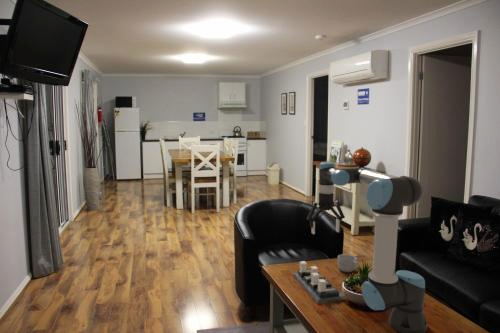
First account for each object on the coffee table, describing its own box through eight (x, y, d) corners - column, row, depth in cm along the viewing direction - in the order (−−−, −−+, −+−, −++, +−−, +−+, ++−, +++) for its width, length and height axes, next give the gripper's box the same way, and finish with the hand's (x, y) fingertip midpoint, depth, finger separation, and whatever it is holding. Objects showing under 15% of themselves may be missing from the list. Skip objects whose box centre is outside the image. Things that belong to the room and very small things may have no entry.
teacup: (333, 267, 233) (334, 254, 232) (350, 265, 236) (350, 252, 235) (346, 277, 220) (346, 263, 219) (363, 274, 223) (364, 261, 222)
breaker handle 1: (306, 272, 216) (306, 263, 215) (301, 272, 215) (301, 263, 214) (304, 269, 219) (304, 261, 218) (299, 270, 218) (299, 261, 218)
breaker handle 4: (325, 291, 193) (326, 281, 192) (320, 292, 192) (320, 282, 191) (323, 288, 196) (323, 278, 195) (317, 289, 195) (318, 279, 195)
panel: (344, 299, 193) (344, 291, 193) (317, 303, 190) (317, 295, 189) (316, 273, 224) (316, 266, 223) (293, 276, 220) (293, 269, 220)
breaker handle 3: (318, 284, 201) (319, 275, 200) (313, 285, 200) (314, 275, 199) (316, 281, 204) (316, 272, 203) (311, 282, 203) (311, 273, 202)
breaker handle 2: (317, 277, 209) (318, 268, 208) (312, 278, 208) (313, 268, 208) (315, 275, 212) (315, 266, 211) (310, 275, 211) (310, 266, 211)
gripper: (345, 189, 211) (344, 228, 214) (300, 192, 205) (300, 232, 208) (352, 192, 204) (350, 232, 206) (305, 195, 198) (305, 236, 201)
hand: (325, 232), depth 207 cm, fingers open, 13 cm apart
